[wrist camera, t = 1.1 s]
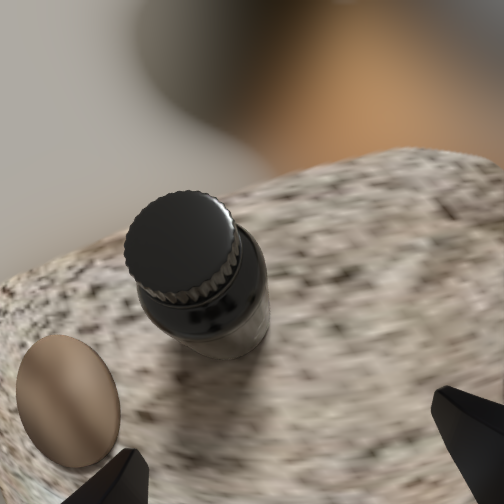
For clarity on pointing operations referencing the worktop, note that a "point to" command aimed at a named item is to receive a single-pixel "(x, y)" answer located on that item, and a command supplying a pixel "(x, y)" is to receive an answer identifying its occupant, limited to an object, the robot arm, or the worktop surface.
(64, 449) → the walnut trivet
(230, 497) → the worktop surface
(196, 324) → the supplement bottle
